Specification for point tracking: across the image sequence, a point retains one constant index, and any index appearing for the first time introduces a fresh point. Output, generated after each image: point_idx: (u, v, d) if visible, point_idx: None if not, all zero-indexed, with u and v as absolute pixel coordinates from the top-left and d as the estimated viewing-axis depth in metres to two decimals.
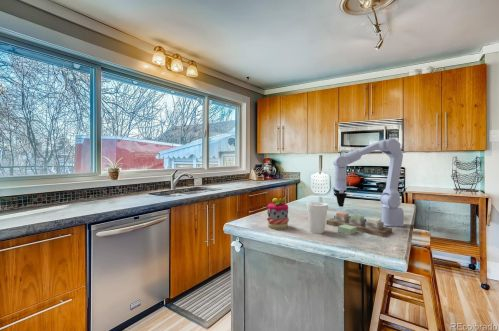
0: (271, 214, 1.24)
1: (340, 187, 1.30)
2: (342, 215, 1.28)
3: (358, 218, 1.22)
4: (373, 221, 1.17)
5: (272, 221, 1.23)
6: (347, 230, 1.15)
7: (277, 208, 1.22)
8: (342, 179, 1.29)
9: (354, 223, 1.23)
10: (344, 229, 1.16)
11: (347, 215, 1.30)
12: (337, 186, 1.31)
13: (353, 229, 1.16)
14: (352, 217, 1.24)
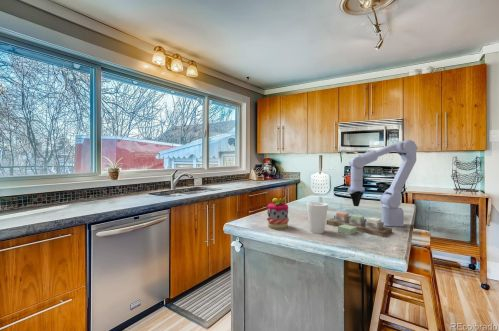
0: (271, 214, 1.24)
1: (353, 188, 1.30)
2: (342, 215, 1.28)
3: (358, 218, 1.22)
4: (373, 221, 1.17)
5: (272, 221, 1.23)
6: (347, 230, 1.15)
7: (277, 208, 1.22)
8: (355, 180, 1.29)
9: (354, 223, 1.23)
10: (344, 229, 1.16)
11: (347, 215, 1.30)
12: (351, 186, 1.31)
13: (353, 229, 1.16)
14: (352, 217, 1.24)
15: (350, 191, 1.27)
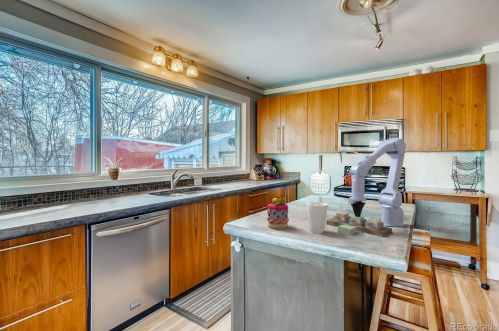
0: (271, 214, 1.24)
1: (354, 197, 1.22)
2: (342, 215, 1.28)
3: (358, 219, 1.22)
4: (373, 221, 1.17)
5: (272, 221, 1.23)
6: (347, 230, 1.15)
7: (277, 208, 1.22)
8: (356, 189, 1.22)
9: (354, 223, 1.23)
10: (344, 229, 1.16)
11: (347, 215, 1.30)
12: (352, 196, 1.24)
13: (353, 229, 1.16)
14: (352, 218, 1.24)
15: (351, 201, 1.19)
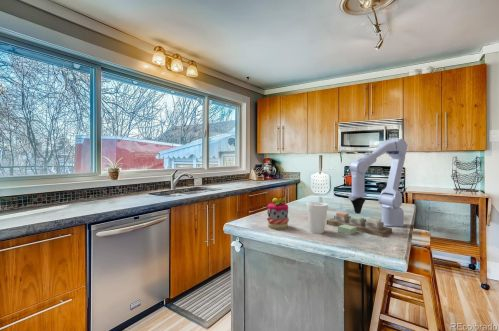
0: (271, 214, 1.24)
1: (354, 194, 1.22)
2: (342, 215, 1.28)
3: None
4: (373, 221, 1.17)
5: (272, 221, 1.23)
6: (347, 230, 1.15)
7: (277, 208, 1.22)
8: (357, 186, 1.22)
9: (354, 223, 1.23)
10: (344, 229, 1.16)
11: (347, 215, 1.30)
12: (352, 193, 1.24)
13: (353, 229, 1.16)
14: None
15: (351, 198, 1.19)
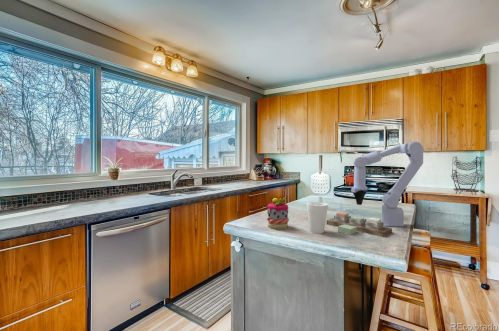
0: (271, 214, 1.24)
1: (356, 187, 1.34)
2: (342, 215, 1.28)
3: None
4: (373, 221, 1.17)
5: (272, 221, 1.23)
6: (347, 230, 1.15)
7: (277, 208, 1.22)
8: (358, 179, 1.33)
9: (354, 223, 1.23)
10: (344, 229, 1.16)
11: (347, 215, 1.30)
12: (354, 186, 1.35)
13: (353, 229, 1.16)
14: None
15: (353, 190, 1.30)
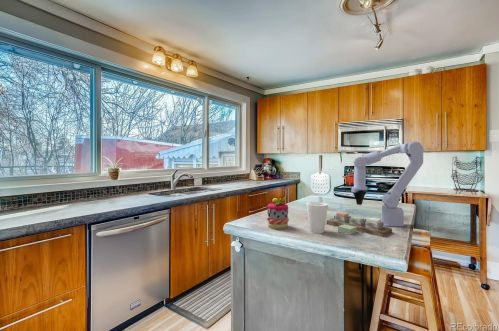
0: (271, 214, 1.24)
1: (356, 187, 1.34)
2: (342, 215, 1.28)
3: None
4: (373, 221, 1.17)
5: (272, 221, 1.23)
6: (347, 230, 1.15)
7: (277, 208, 1.22)
8: (358, 179, 1.33)
9: (354, 223, 1.23)
10: (344, 229, 1.16)
11: (347, 215, 1.30)
12: (354, 186, 1.35)
13: (353, 229, 1.16)
14: None
15: (353, 190, 1.30)
